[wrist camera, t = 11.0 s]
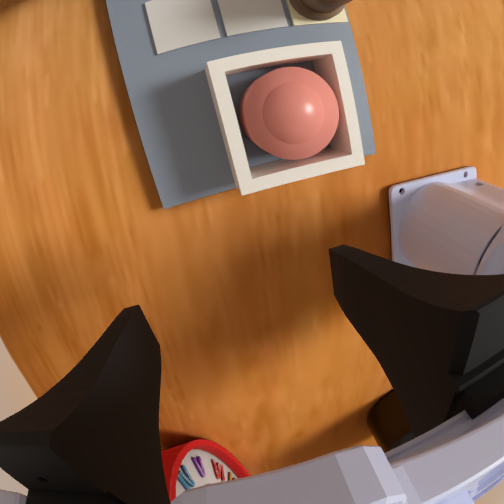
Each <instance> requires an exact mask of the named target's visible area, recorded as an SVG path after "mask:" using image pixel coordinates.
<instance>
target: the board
mask: <svg viewBox="0 0 504 504" xmlns="http://www.w3.org/2000/svg"><path fill="white" fill-rule="evenodd" d="M106 4H107V9H108V14H109V18H110V23H111V27H112V32H113V36H114V40H115V44H116V49H117V53H118V57H119V61H120V65H121V69H122V72H123V76H124V80H125V84H126V88H127V91H128V95H129V99H130V102H131V106H132V109H133V113H134V116H135V120H136V123H137V127H138V130H139V133H140V137H141V140H142V143H143V147H144V150H145V153H146V156H147V160H148V163H149V166H150V169H151V172H152V175H153V178H154V181H155V184H156V188H157V191H158V194H159V197H160V199H161V202H162V205H163V208H164V209H167V208H170V207H173V206H177V205H180V204H183V203H186V202H190V201H193V200H196V199H199V198H203V197H206V196H210V195H213V194H216V193H220V192H223V191H227V190H230V189H234V188H238V190H239V191H240V193H241V195H242V196H243V195H246V194H250V193H253V192H257V191H261V190H264V189H268V188H272V187H275V186H279V185H283V184H287V183H290V182H294V181H298V180H302V179H306V178H310V177H314V176H318V175H322V174H326V173H330V172H334V171H338V170H343V169H347V168H351V167H355V166H360V165H364V164H365V161H364V156H366V155H371V154H376V151H375V143H374V137H373V130H372V124H371V118H370V112H369V106H368V101H367V95H366V90H365V85H364V80H363V76H362V71H361V66H360V62H359V58H358V53H357V49H356V45H355V41H354V37H353V33H352V30H351V26H350V22H349V19H348V15H347V12H346V8H345V6H344V8H343V10H342V11H341V12H340V13H339V14H338V15H336V16H334V17H332V18H331V19H328V20H324V21H315V20H311V19H308V18H306V17H304V16H302V15H300V14H299V13H298V12H297V11H296V10H295V9H294V8H293V7H292V5H291V4H290V2H289V0H106ZM283 67H300V68H304V69H307V70H310V71H312V72H314V73H316V74H317V75H319V76H320V77H321V78H323V79H324V80H325V81H326V82H327V83H328V85H329V86H330V87H331V89H332V91H333V92H334V94H335V97H336V99H337V103H338V108H339V121H338V126H337V129H336V132H335V134H334V136H333V138H332V140H331V141H330V142H329V144H328V145H327V146H326V147H325V148H324V149H323V150H321V151H320V152H318V153H317V154H315V155H313V156H311V157H308V158H305V159H299V160H288V159H282V158H279V157H276V156H274V155H272V154H270V153H268V152H266V151H265V150H263V149H261V148H259V147H257V146H256V145H254V144H253V143H252V142H251V141H250V140H249V139H248V138H247V137H246V136H245V134H244V133H243V131H242V129H241V127H240V124H239V119H238V105H239V100H240V98H241V95H242V94H243V92H244V90H245V89H246V88H247V86H248V85H249V84H250V83H252V82H253V81H254V80H256V79H257V78H259V77H261V76H263V75H265V74H267V73H269V72H271V71H273V70H276V69H278V68H283Z"/></svg>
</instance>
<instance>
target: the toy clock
mask: <svg viewBox="0 0 504 504" xmlns="http://www.w3.org/2000/svg"><path fill="white" fill-rule="evenodd" d="M161 455H162V462H163V469H164V474H165V480H166V485H167V490H168V494H169V498H170V502H171V501H173V500H174V499H175V498H176V497H178V496H179V495H180V494H181V493H182V492H184V491H185V490H188V489H192V488H196V487H200V486H203V485H207V484H213V483H218V482H224V481H229V480H234V479H239V478H244V477H248V476H250V475H249V474H248V472H247V471H246V470H245V468H244V467H243V466H242V465H241V464H240V462H239V461H238V460H237V459H236V458H235V457H234V456H233V455H232V454H231V453H230V452H228V451H227V450H226V449H225V448H223V447H222V446H220V445H218V444H217V443H215V442H212V441H209V440H203V439H198V440H194V441H190V442H188V443H185V444H181V445H178V446H175V447H172V448H169V449H166V450H162V451H161Z"/></svg>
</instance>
